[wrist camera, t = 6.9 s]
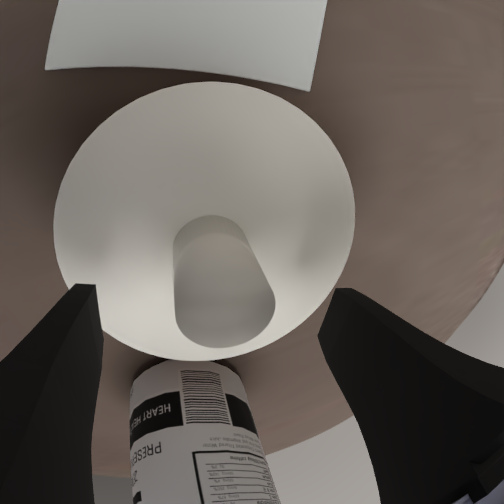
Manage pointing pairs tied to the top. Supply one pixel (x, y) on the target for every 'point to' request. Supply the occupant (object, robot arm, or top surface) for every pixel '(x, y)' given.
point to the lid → (205, 220)
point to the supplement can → (195, 438)
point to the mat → (192, 37)
